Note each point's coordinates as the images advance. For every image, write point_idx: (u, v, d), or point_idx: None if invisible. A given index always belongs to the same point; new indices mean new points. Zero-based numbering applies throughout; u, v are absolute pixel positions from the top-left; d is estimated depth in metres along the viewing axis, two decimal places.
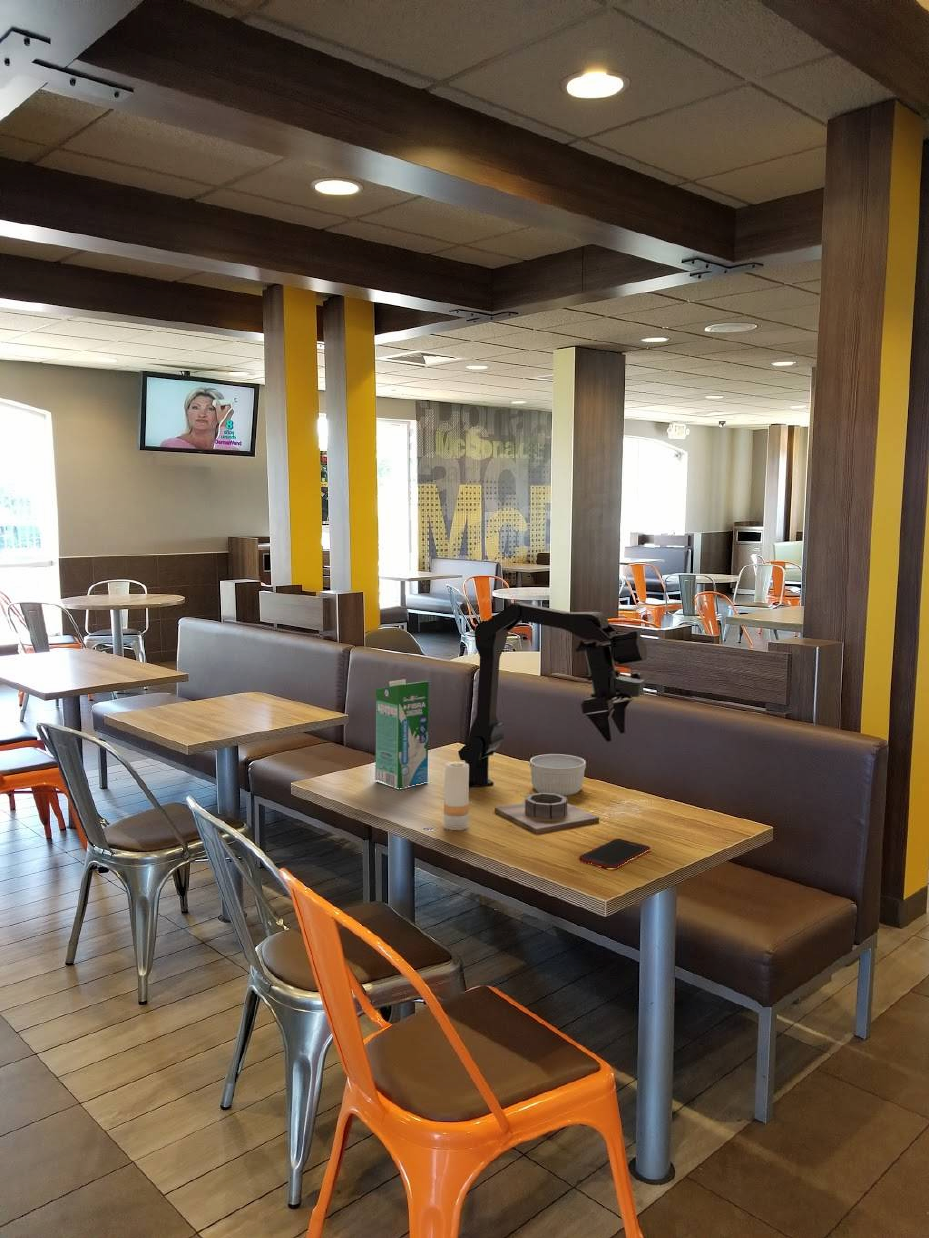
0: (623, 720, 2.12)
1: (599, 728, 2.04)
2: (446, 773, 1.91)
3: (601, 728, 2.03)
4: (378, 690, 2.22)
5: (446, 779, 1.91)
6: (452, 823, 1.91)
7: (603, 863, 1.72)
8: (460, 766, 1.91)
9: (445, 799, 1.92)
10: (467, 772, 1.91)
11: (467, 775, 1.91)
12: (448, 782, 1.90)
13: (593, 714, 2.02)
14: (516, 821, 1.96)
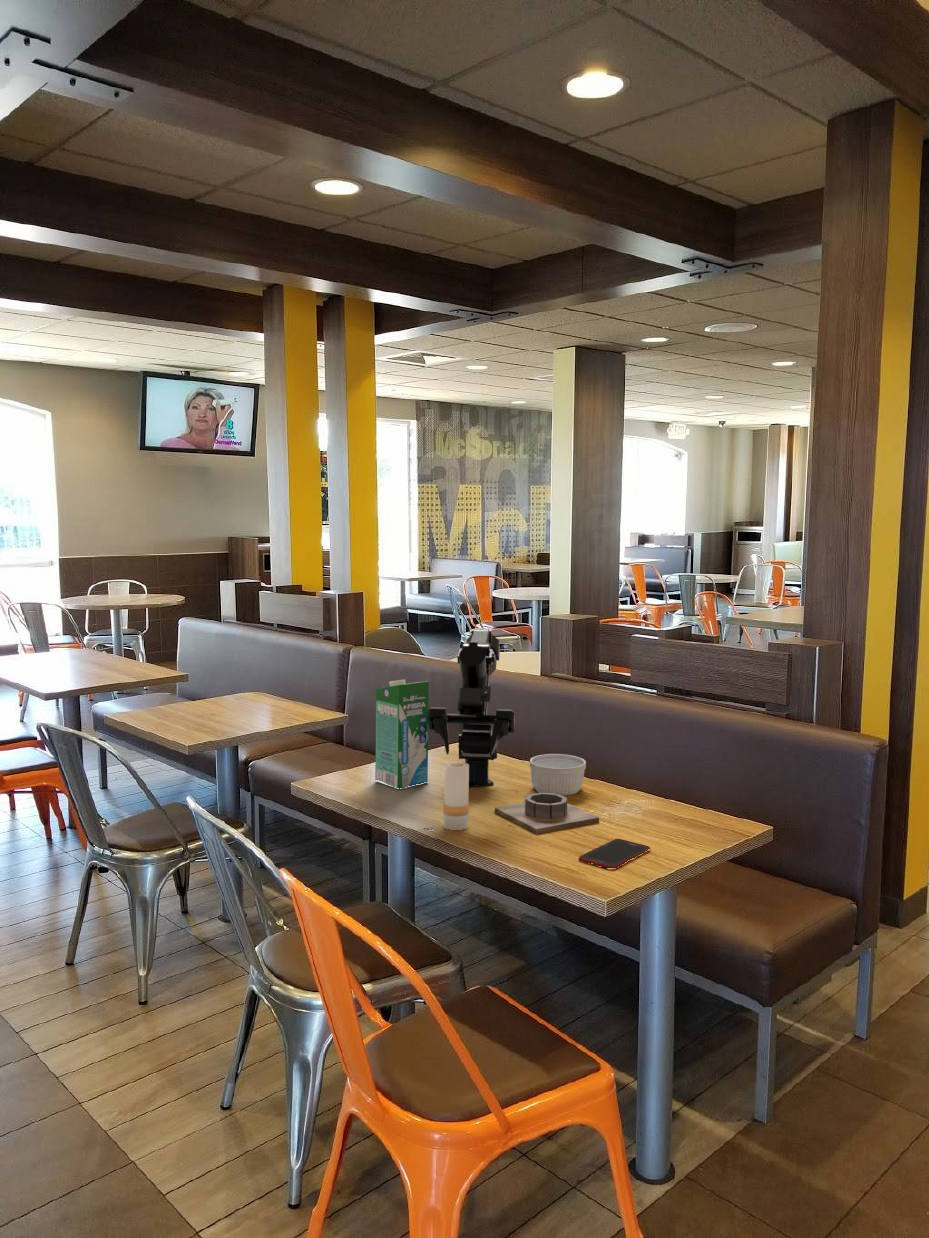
0: (491, 741, 2.00)
1: (443, 742, 2.02)
2: (446, 773, 1.91)
3: (443, 742, 2.02)
4: (378, 690, 2.22)
5: (446, 779, 1.91)
6: (452, 823, 1.91)
7: (603, 863, 1.72)
8: (460, 766, 1.91)
9: (445, 799, 1.92)
10: (467, 772, 1.91)
11: (467, 775, 1.91)
12: (448, 782, 1.90)
13: None
14: (516, 821, 1.96)
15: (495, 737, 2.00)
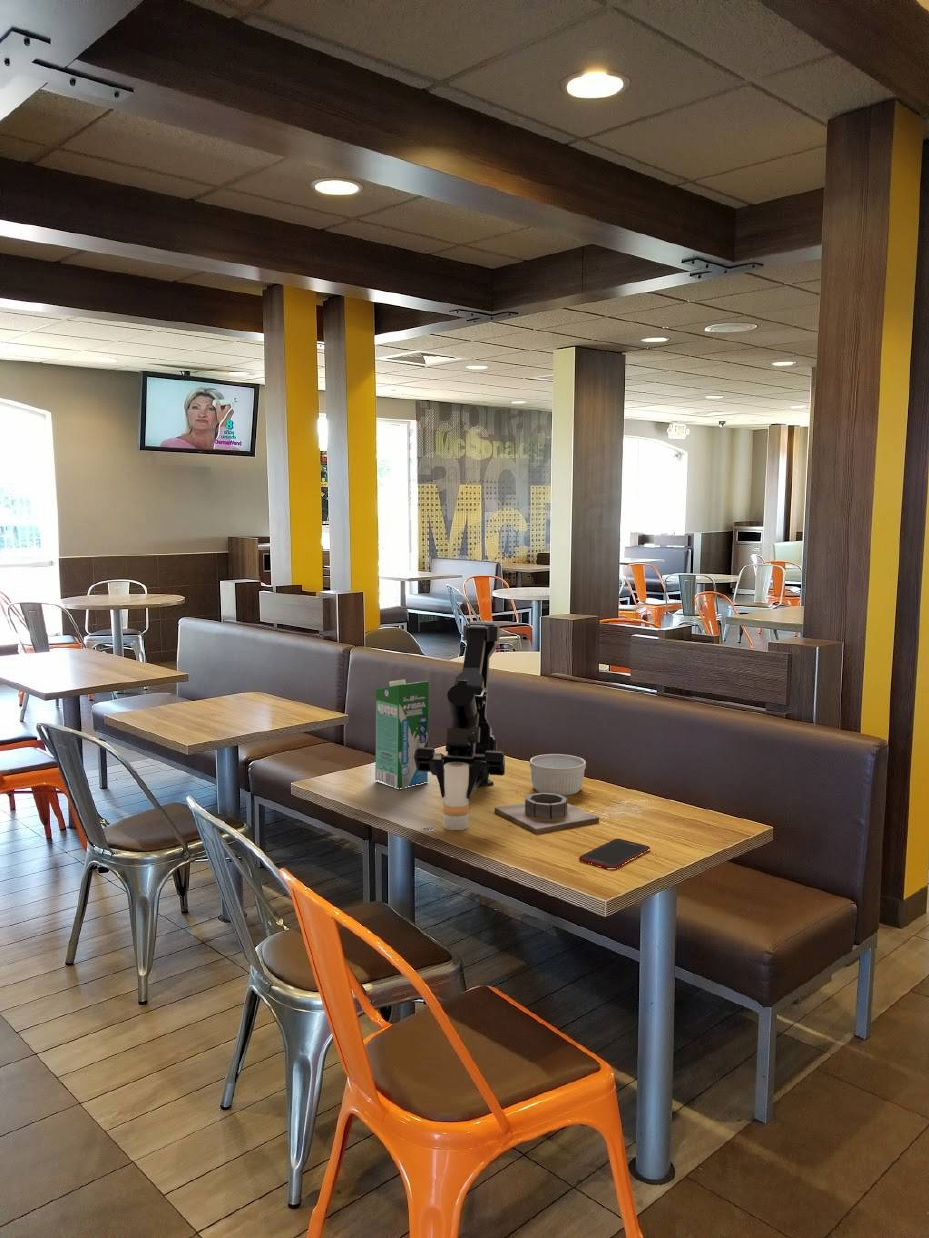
0: None
1: None
2: (446, 773, 1.91)
3: None
4: (378, 690, 2.22)
5: (446, 779, 1.91)
6: (452, 823, 1.91)
7: (603, 863, 1.72)
8: (460, 766, 1.91)
9: (445, 799, 1.92)
10: (467, 772, 1.91)
11: (467, 775, 1.91)
12: (448, 782, 1.90)
13: None
14: (516, 821, 1.96)
15: (474, 779, 1.92)
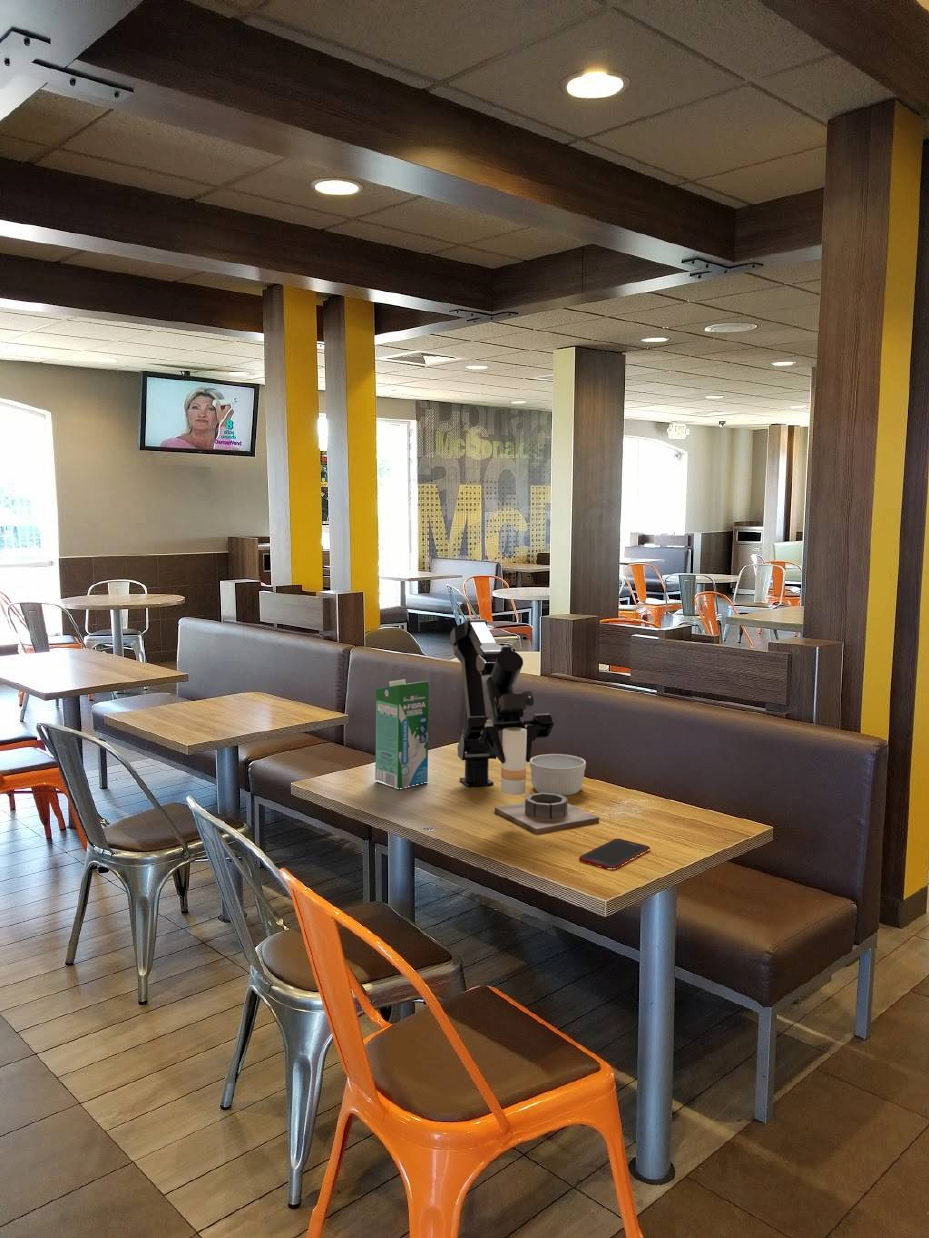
0: (526, 747, 1.95)
1: (494, 752, 1.95)
2: (508, 739, 1.92)
3: (494, 751, 1.95)
4: (378, 690, 2.22)
5: (508, 744, 1.92)
6: (515, 787, 1.93)
7: (603, 863, 1.72)
8: (520, 730, 1.93)
9: (506, 765, 1.93)
10: (526, 736, 1.94)
11: (526, 739, 1.94)
12: (510, 747, 1.92)
13: (481, 737, 1.97)
14: (516, 821, 1.96)
15: (530, 743, 1.95)
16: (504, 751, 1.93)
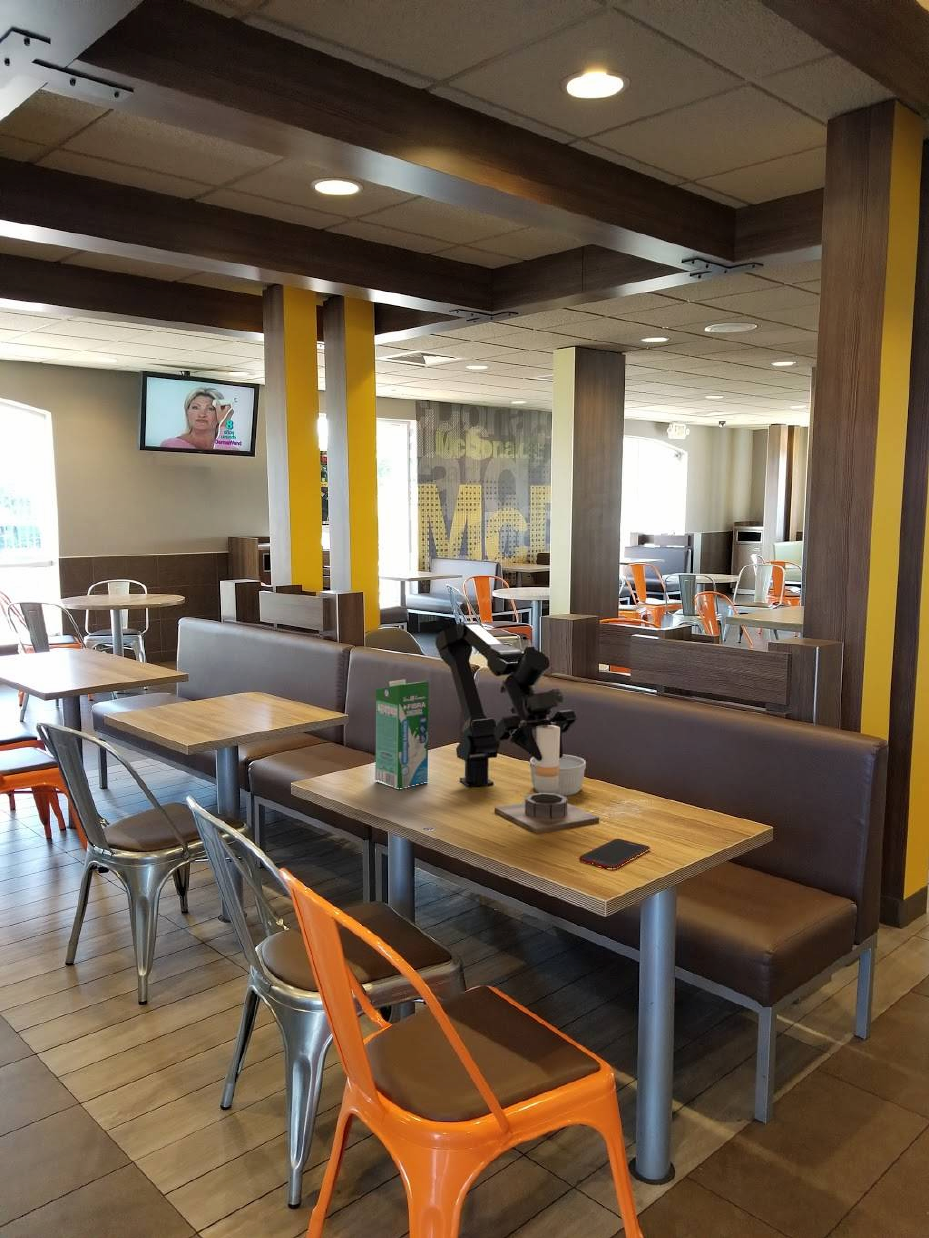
0: None
1: (527, 750, 1.99)
2: (545, 736, 1.96)
3: (528, 749, 1.98)
4: (378, 690, 2.22)
5: (545, 742, 1.96)
6: (552, 783, 1.97)
7: (603, 863, 1.72)
8: (554, 727, 1.98)
9: (543, 762, 1.97)
10: None
11: None
12: (548, 744, 1.96)
13: (513, 737, 1.99)
14: (516, 821, 1.96)
15: (560, 739, 2.01)
16: (540, 749, 1.97)
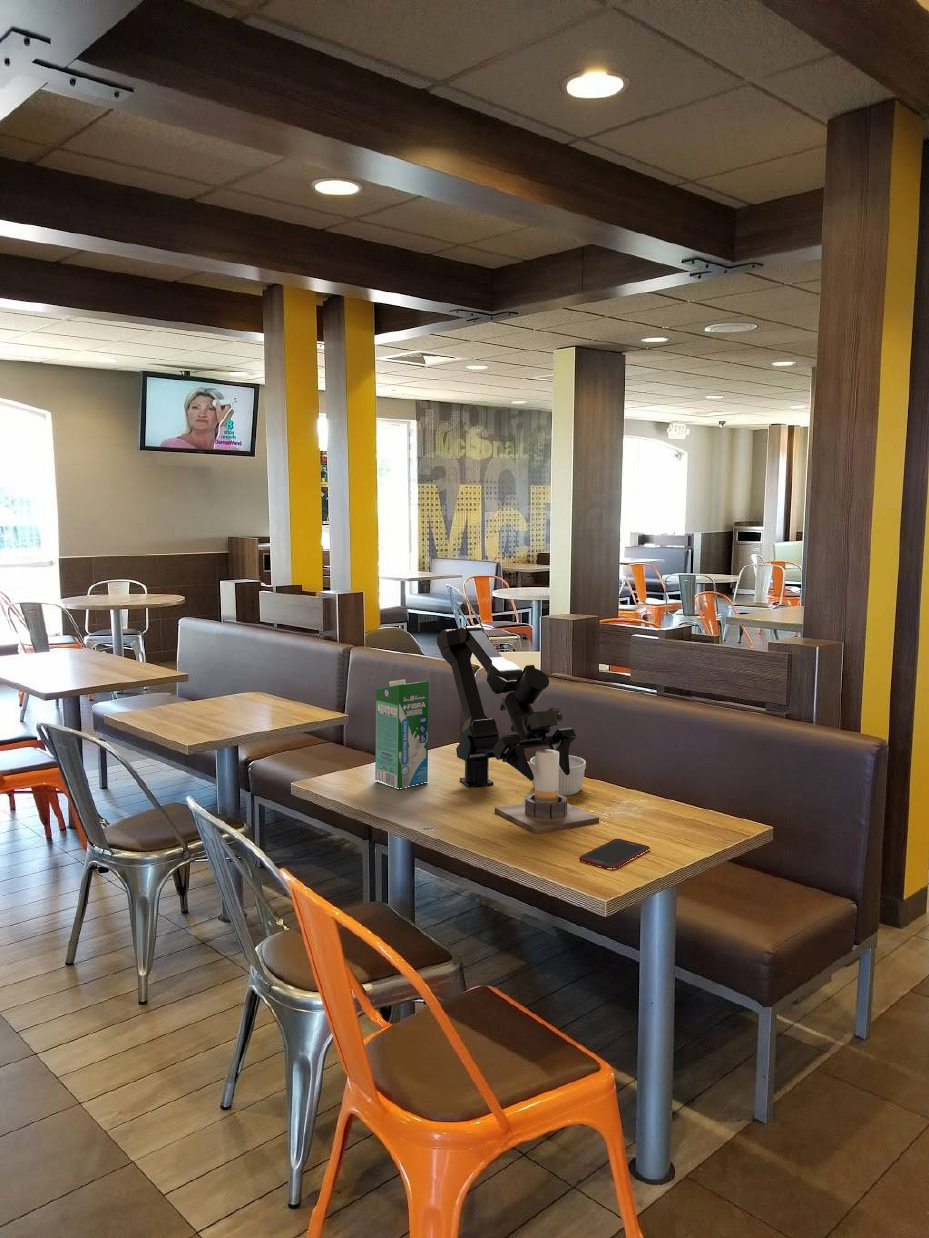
0: (564, 761, 2.02)
1: (520, 770, 1.98)
2: (544, 760, 1.97)
3: (521, 769, 1.98)
4: (378, 690, 2.22)
5: (544, 766, 1.97)
6: None
7: (603, 863, 1.72)
8: (553, 752, 1.99)
9: (542, 786, 1.98)
10: None
11: None
12: (547, 768, 1.97)
13: (505, 756, 1.99)
14: (516, 821, 1.96)
15: (567, 756, 2.02)
16: (540, 773, 1.98)
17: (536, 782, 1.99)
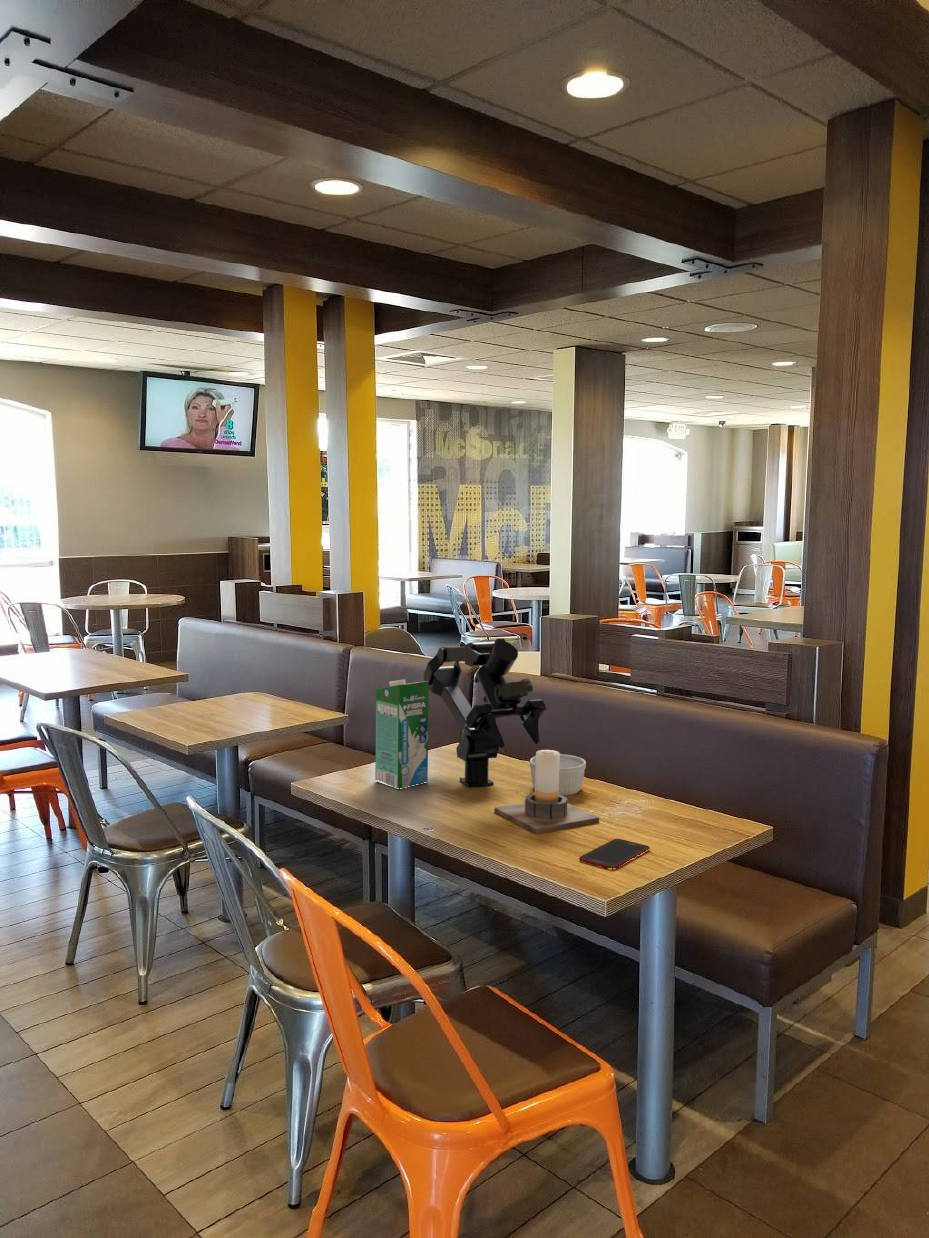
0: (534, 730, 2.11)
1: (491, 738, 2.07)
2: (544, 762, 1.97)
3: (492, 737, 2.07)
4: (378, 690, 2.22)
5: (544, 767, 1.97)
6: None
7: (603, 863, 1.72)
8: (553, 753, 1.99)
9: (542, 787, 1.98)
10: None
11: None
12: (547, 769, 1.97)
13: (477, 725, 2.07)
14: (516, 821, 1.96)
15: (537, 726, 2.11)
16: (540, 774, 1.98)
17: (536, 783, 1.99)
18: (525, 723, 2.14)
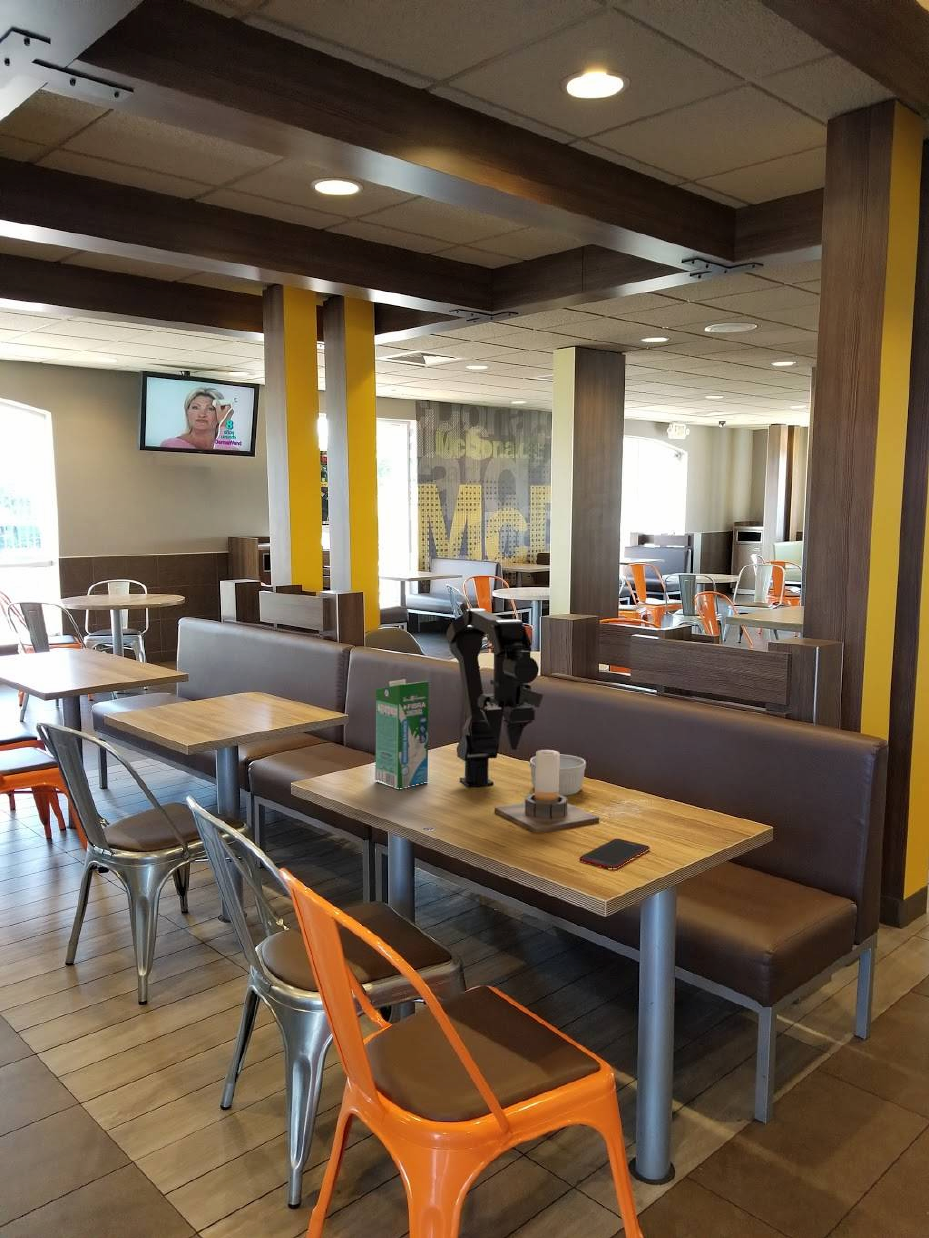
0: (500, 728, 2.14)
1: (511, 736, 2.04)
2: (544, 762, 1.97)
3: (513, 736, 2.04)
4: (378, 690, 2.22)
5: (544, 767, 1.97)
6: None
7: (604, 863, 1.72)
8: (553, 753, 1.99)
9: (542, 787, 1.98)
10: None
11: None
12: (547, 769, 1.97)
13: (517, 723, 2.01)
14: (516, 821, 1.96)
15: None
16: (540, 774, 1.98)
17: (536, 783, 1.99)
18: (489, 713, 2.13)
